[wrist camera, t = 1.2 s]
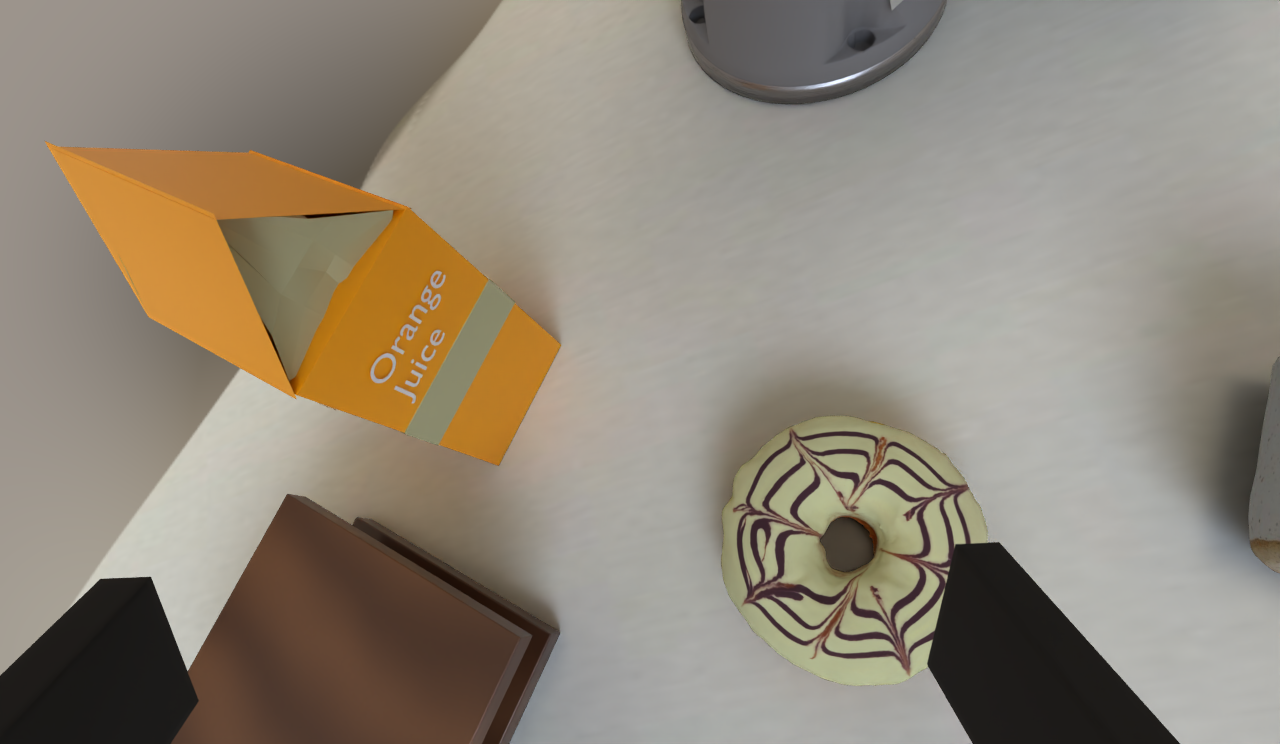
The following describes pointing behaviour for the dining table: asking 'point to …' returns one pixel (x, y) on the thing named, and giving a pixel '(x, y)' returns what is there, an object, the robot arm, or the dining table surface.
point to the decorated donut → (796, 560)
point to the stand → (360, 645)
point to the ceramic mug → (1268, 483)
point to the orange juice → (317, 290)
